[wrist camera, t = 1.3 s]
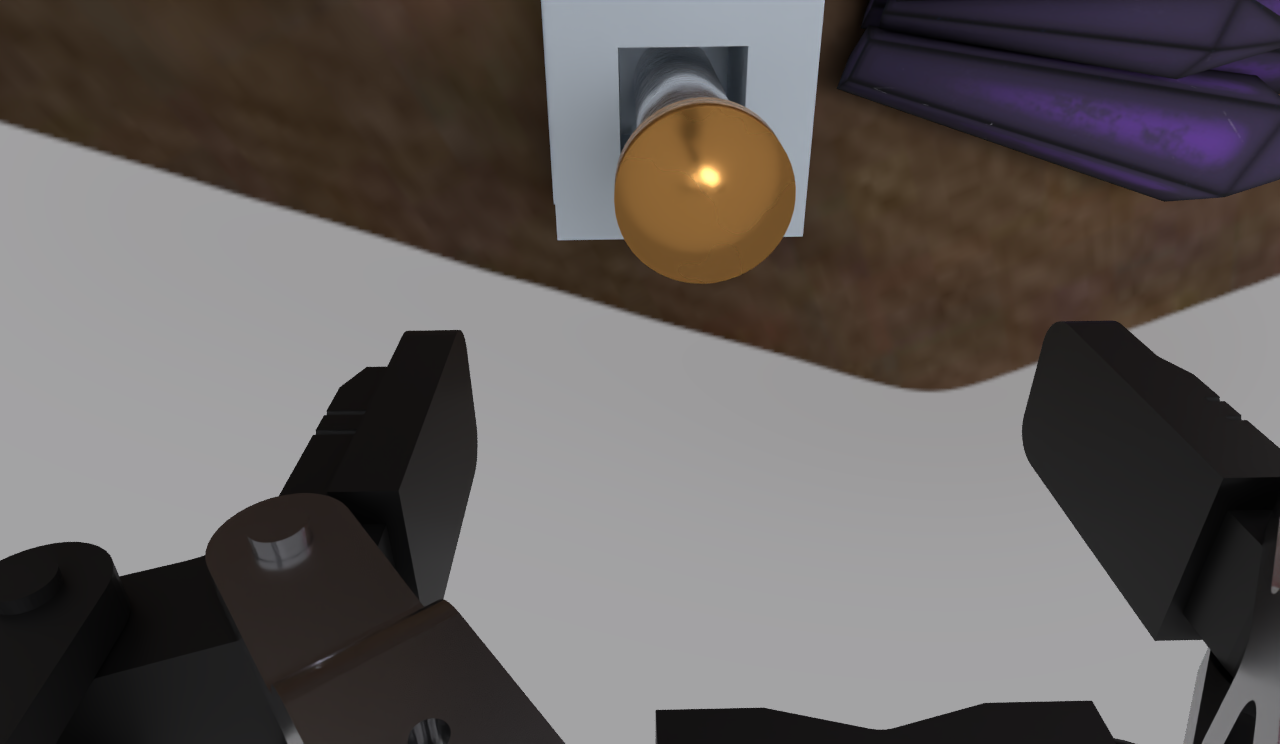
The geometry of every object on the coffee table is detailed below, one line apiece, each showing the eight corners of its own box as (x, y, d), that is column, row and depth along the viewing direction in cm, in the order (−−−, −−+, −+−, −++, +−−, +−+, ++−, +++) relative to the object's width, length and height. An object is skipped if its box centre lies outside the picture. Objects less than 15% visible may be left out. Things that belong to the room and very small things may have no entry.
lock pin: (615, 19, 29) (611, 108, 18) (732, 17, 29) (803, 106, 18) (618, 137, 31) (616, 285, 20) (727, 135, 31) (788, 282, 20)
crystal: (839, 199, 27) (1482, 248, 26) (909, -237, 22) (1695, -189, 22) (811, 160, 33) (1327, 198, 33) (861, -184, 29) (1464, -146, 28)
